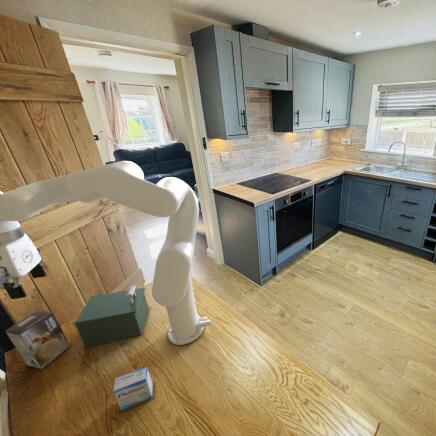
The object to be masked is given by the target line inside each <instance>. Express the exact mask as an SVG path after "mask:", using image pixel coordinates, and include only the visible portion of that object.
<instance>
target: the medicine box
mask: <svg viewBox="0 0 436 436" xmlns="http://www.w3.org/2000/svg"><path fill="white" fill-rule="evenodd" d="M153 386H154V385H153V380H152V377H151V374H150V372H149V369H148V367H147V366H144V367H142V368H139V369H137V370H134V371H131V372H129V373H126V374H123V375H121V376H118V377H116V378H115V379H114V385H113V390H112V391H113V395H114V397H115V399H116V402H117V404H118V406H119V407H118V408H119V410H120V411H121V412H123V411H125V410H127V409H130V408H131V407H134V406H136V405H138V404H141V403H144V402H146V401H148V400H150V399H152V398H153V391H154V390H153V388H154V387H153Z"/></svg>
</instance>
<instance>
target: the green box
mask: <svg viewBox="0 0 436 436" xmlns="http://www.w3.org/2000/svg"><path fill="white" fill-rule="evenodd" d="M149 310H150V309H149V305H148V302H147V298H146V294H145V293H144V294H143V297H142V299H141V302H140V305H139V308H138V311H137V313H133V314H127V315H122V316H117V317H112V318H107V319H102V320H97V321H92V322H86V323H81V324H76V325H75V327H76V329H77V332H78V333H79V335H80V338H81V340H82V342H83V344H84V347H85V348H88V347H91V346H97V345H101V344H105V343H110V342H115V341H118V340H124V339H128V338H132V337H137V336H141V335H142V333H143V330H144V327H145V324H146V320H147V317H148V313H149Z"/></svg>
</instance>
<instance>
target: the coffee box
mask: <svg viewBox="0 0 436 436" xmlns="http://www.w3.org/2000/svg"><path fill="white" fill-rule="evenodd" d="M4 332H5V334H6V335H7V336H8V338H9V340H10V341H11V343H12V344H13V346H14V347H15V349H16V350H17V352H18V353H19V355H20V356H21V358H22V359H23V361H24V362H25V364H26V365H27V366H28V367H32V368H37V369H39V370H40V369H41V370H42V369H44V368H45V367H46V366H48V365H49V364H50V363H52V362H53V361H54V360H55V359H57V357H59V356H60V355H61V354H62V353H63V352H65V351H66V350H67V349H68V348H69V347H70V346H71V344H70V342H69V340H68V338H67V336H66V334H65V333H64V330H63V328H62V327H61V325H60V323H59V321H58V320H57V317H56V316H55V314H54V312H51V311H47V310H41V309H37V310H36V311H34V312H33V313H31V314H29V315H28V316H26V317H24V318H23V319H21V320H20V321H18V322H16V323H15V324H13V325H12V326H10V327H8V328H7V329H6V330H4Z"/></svg>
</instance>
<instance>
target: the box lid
mask: <svg viewBox="0 0 436 436" xmlns="http://www.w3.org/2000/svg"><path fill="white" fill-rule="evenodd" d="M145 290H146V287H145V286H144V287H138V288H136V285H130V286H129V288H128V289H126V290H121V291H115V292H108V293H103V294H97V295H91V296H90V298H89V299H88V301H87V303H86V304H85V306H84V307H83V309H81V312H80V314H79V315H78V317H77V318H76V320H75V322H74V325H75V326H76V324H81V323H86V322H92V321H97V320H102V319H107V318H112V317H117V316H122V315H127V314H133V313H137V311H138V308H139V305H140V302H141V299H142V297H143V294H145Z"/></svg>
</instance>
